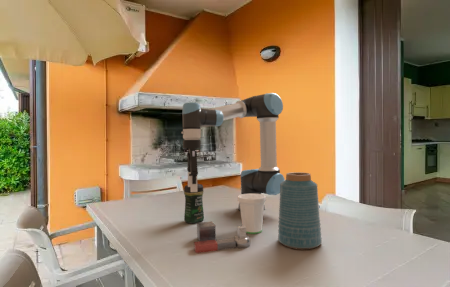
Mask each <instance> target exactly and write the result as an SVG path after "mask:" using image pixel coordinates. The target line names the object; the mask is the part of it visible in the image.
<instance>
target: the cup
mask: <svg viewBox="0 0 450 287" xmlns="http://www.w3.org/2000/svg"><path fill="white" fill-rule="evenodd" d="M266 198H267V195H266V194H265V195H264V194H263V193H261V194H239V195H238V196H237V201H238V204H239V203H240V210H239V211H240V218H241V219H240V220H241V224H242V225H241V226H245V227H246V234H249V235H251V234H253V235H255V234H260V233H262V232H263V221H264V220H263V219H264V211H265V209H264V205H265V203H266V201H267V199H266Z"/></svg>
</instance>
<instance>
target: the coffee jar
mask: <svg viewBox="0 0 450 287" xmlns="http://www.w3.org/2000/svg"><path fill="white" fill-rule="evenodd" d="M204 191H205V190H204V185H203V184H200V183H197V192H191V187H188V184H187V185H185V186H184V189H183V194H184V197H185V203H184V204H185V205H184V214H183V215H184V222H185V223H187V224H197V223H200V222H203V221H204V220H205V214H204V204H203V195H204V193H205V192H204Z"/></svg>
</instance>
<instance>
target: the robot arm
mask: <svg viewBox="0 0 450 287" xmlns="http://www.w3.org/2000/svg"><path fill="white" fill-rule="evenodd" d="M283 109H284V103H283V100H282V98H281V96H280V95H278V94H277V93H274V92H269V93H267V92H266V93H263V94H260V95H259V94H258V95H254V96H253V95H252V96H249V97H247V98H244V99H241V100H238V101H236V102H235V103H232V104H231V103H230V104H226V105H221V106H217V107H212V108H201V103H199V102H192V101H191V102H185V103H183V105H182V112H181V114H182V131H181V133H180V134H182V139H183V140H182V148H183V149H187V152H186V158H187V165H186V166H187V168H186V169H187V185H188V187H191V192H197V184H198V175H199V171H198V170H199V169H198V152H197V151H196V149H201V146H202V143H201V142H202V141H201V135H202V134H201V130H202V129H201V128H206V127H207V128H208V127H220V126H222V125H223V123H224V121H227V120H231V119H235V118H240V119H243V118H251V117H252V118H253V117H254V118H256V121H258V122H259V139H260V140H259V145H260V147H259V148H260V167H259V168H255V169H254V168H252V169H244V170H241V172H240V193H241V194H263V195H264V194H265V195H268V196H269V195H270V196H277V195H280V184H281V183H282V182H283V181H285V180H286V178H285V176H284V175H283V174H282V173H281V171H280V167H278V162H277V160H278V159H277V158H278V157H277V121H278V120H279V115H280V114H282V112H283ZM241 194H240V195H241ZM264 210H265V204H264ZM238 211H240V203H239V202H238Z"/></svg>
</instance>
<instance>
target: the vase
mask: <svg viewBox="0 0 450 287" xmlns="http://www.w3.org/2000/svg"><path fill="white" fill-rule="evenodd" d="M311 176H312V175H311V173H308V172H303V171H302V172H295V171H294V172H293V171H292V172H288V173H286V174H285V181H283V182H282V183H281V184H280V193H279V205H278V206H279V207H278V208H279V209H278V211H279V212H278V225H277V226H278V229H277V231H278V232H277V233H278V235H277V240H278V242H279V243H280V244H282V245H283V246H285V247H287V248H290V249H294V250H301V251H302V250H303V251H304V250H305V251H306V250H312V249H313V250H314V249H316V248H317V247H319V246H321V244H322V242H323V240H322V239H323V238H322V226H321V225H322V224H321V216H320V205H319V193H318V190H319V189H318V184H317V183H316V182H315V181H314V180H312V177H311Z"/></svg>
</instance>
